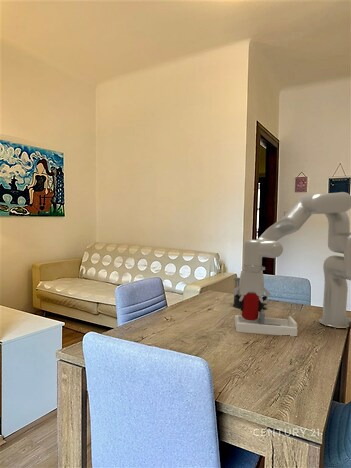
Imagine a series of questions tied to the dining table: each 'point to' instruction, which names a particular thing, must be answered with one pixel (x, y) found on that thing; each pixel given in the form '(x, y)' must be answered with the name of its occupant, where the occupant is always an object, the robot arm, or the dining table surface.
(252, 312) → the beverage can
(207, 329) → the dining table surface
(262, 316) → the pusher
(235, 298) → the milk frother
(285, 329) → the white tray
